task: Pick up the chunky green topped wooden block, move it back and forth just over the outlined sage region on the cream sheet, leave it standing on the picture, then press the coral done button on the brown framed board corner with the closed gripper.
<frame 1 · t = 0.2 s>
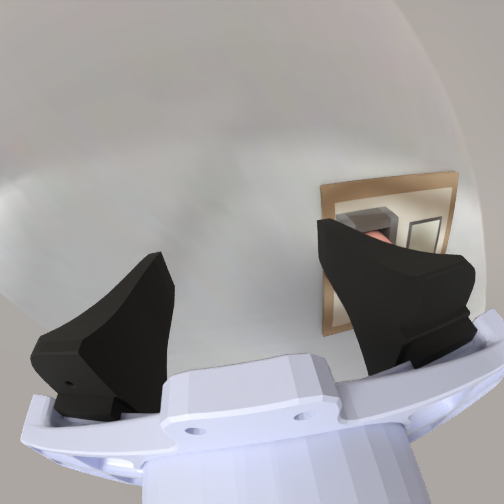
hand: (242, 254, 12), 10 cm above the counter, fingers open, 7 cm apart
brown framed board: (392, 257, 26), on the counter
done button: (373, 249, 21), point 3 cm above the counter, slide at 0.0 cm
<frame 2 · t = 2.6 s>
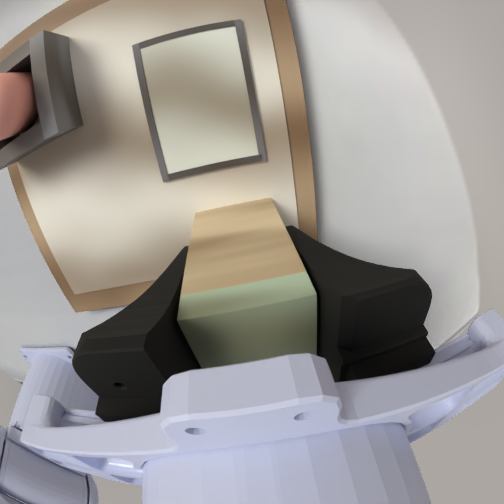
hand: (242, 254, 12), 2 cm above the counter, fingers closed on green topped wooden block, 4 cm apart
green topped wooden block: (239, 237, 14), point 1 cm above the counter, touching brown framed board, gripper
brown framed board: (132, 138, 11), on the counter
done button: (4, 106, 6), point 3 cm above the counter, slide at 0.0 cm
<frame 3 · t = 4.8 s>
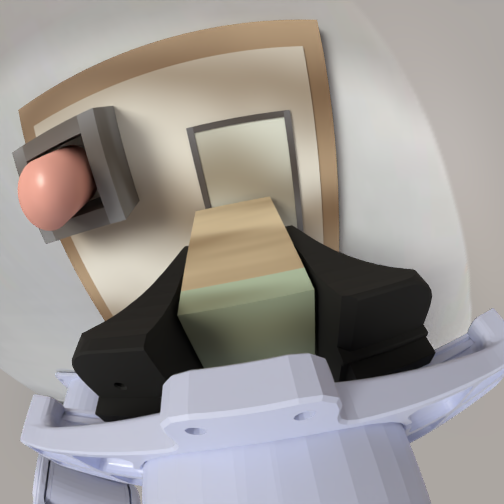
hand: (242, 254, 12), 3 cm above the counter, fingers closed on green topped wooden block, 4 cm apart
green topped wooden block: (239, 236, 14), point 1 cm above the counter, touching gripper
brown framed board: (186, 212, 14), on the counter
done button: (58, 185, 9), point 3 cm above the counter, slide at 0.0 cm
when the fingers open (3 cm above the counter, at t = 7.2 s): green topped wooden block stays where it is, resting on brown framed board.
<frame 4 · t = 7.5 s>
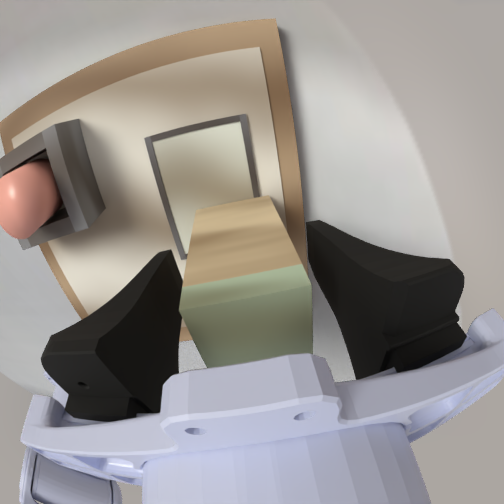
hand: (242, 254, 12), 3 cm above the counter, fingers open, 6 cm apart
green topped wooden block: (239, 234, 14), point 1 cm above the counter, touching brown framed board
brown framed board: (151, 219, 14), on the counter
done button: (29, 196, 9), point 3 cm above the counter, slide at 0.0 cm
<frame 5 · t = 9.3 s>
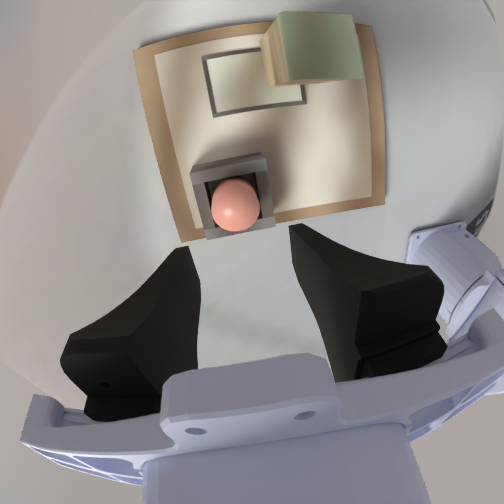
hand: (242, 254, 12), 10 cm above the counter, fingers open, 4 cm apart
green topped wooden block: (289, 62, 15), point 1 cm above the counter, touching brown framed board
brown framed board: (275, 122, 18), on the counter
done button: (234, 202, 18), point 3 cm above the counter, slide at 0.0 cm
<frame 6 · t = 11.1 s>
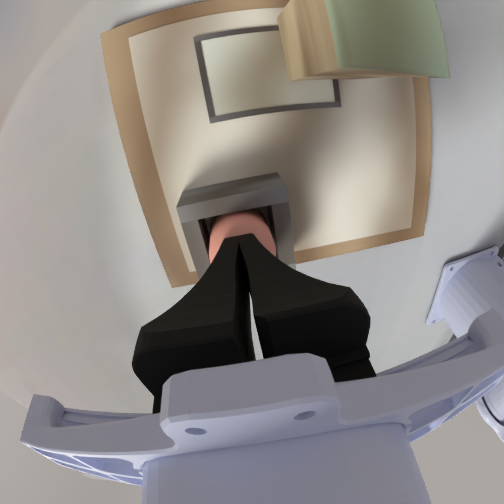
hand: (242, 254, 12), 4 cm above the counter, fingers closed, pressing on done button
green topped wooden block: (317, 47, 10), point 1 cm above the counter, touching brown framed board
brown framed board: (296, 130, 13), on the counter
done button: (240, 241, 13), point 3 cm above the counter, slide at 0.6 cm, touching gripper
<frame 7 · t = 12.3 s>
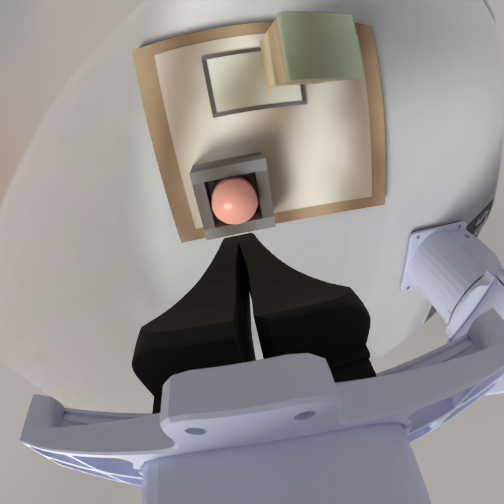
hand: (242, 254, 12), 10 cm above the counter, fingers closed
green topped wooden block: (289, 62, 15), point 1 cm above the counter, touching brown framed board
brown framed board: (275, 122, 18), on the counter
done button: (233, 197, 19), point 2 cm above the counter, slide at 1.0 cm
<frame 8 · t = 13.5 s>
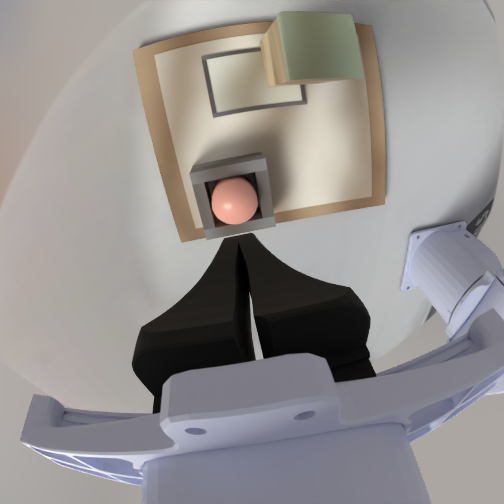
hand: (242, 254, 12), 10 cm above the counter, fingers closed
green topped wooden block: (289, 62, 15), point 1 cm above the counter, touching brown framed board
brown framed board: (275, 122, 18), on the counter
done button: (233, 197, 19), point 2 cm above the counter, slide at 1.0 cm
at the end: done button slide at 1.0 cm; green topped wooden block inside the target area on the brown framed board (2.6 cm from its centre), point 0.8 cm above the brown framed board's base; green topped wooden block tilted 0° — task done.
